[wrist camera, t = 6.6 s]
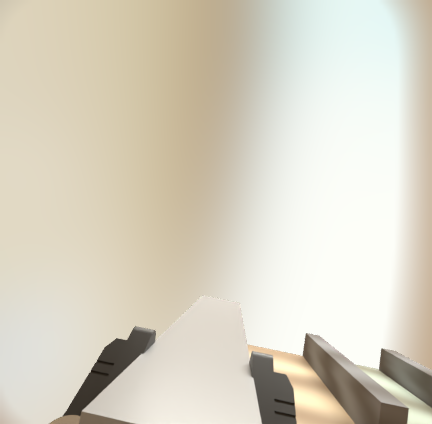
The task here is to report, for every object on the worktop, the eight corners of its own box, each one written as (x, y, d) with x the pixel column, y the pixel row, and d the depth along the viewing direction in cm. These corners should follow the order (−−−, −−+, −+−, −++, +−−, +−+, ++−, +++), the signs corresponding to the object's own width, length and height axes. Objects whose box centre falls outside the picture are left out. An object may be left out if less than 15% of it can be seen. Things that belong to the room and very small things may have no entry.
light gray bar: (232, 683, 6) (267, 453, 6) (32, 625, 6) (81, 411, 6) (232, 341, 31) (239, 302, 32) (195, 333, 32) (202, 295, 32)
